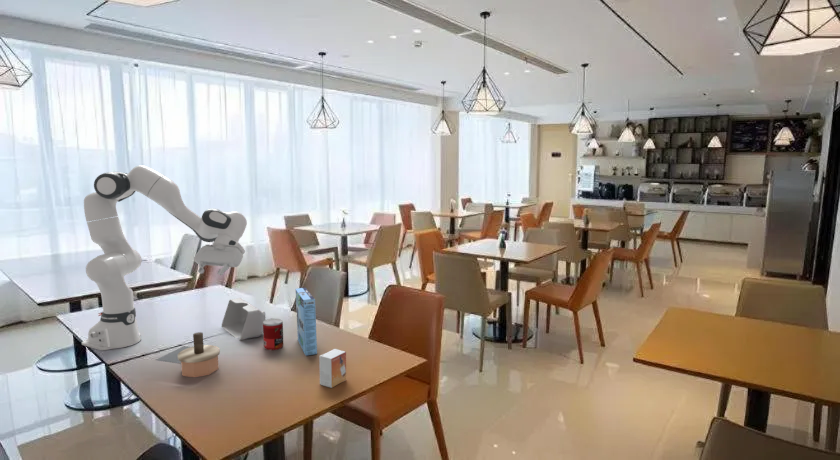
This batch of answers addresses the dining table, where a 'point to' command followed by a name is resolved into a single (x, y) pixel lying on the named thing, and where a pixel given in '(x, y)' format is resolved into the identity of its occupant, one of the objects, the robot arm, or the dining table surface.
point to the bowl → (199, 368)
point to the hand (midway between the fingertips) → (209, 273)
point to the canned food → (273, 334)
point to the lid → (198, 351)
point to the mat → (172, 356)
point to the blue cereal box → (306, 321)
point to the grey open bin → (243, 319)
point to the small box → (332, 368)
